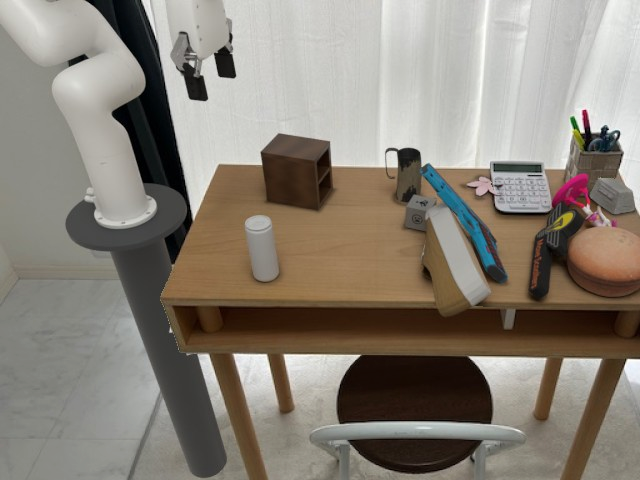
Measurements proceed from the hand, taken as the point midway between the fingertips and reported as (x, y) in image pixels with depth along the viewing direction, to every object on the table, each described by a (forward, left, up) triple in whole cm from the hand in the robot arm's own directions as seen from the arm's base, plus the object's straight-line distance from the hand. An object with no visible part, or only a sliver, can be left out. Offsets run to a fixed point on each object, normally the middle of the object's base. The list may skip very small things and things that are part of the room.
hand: (213, 88), depth 102 cm
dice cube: (+32, +18, -32) cm, 49 cm away
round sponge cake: (+70, +13, -23) cm, 75 cm away
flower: (+43, +37, -31) cm, 64 cm away
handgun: (+45, +1, -23) cm, 51 cm away
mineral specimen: (+72, +36, -29) cm, 85 cm away
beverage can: (+8, -7, -33) cm, 34 cm away
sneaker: (+44, +5, -25) cm, 51 cm away
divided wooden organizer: (+4, +21, -32) cm, 39 cm away
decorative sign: (+57, +14, -32) cm, 66 cm away
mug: (+26, +27, -32) cm, 49 cm away
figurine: (+61, +33, -27) cm, 74 cm away
